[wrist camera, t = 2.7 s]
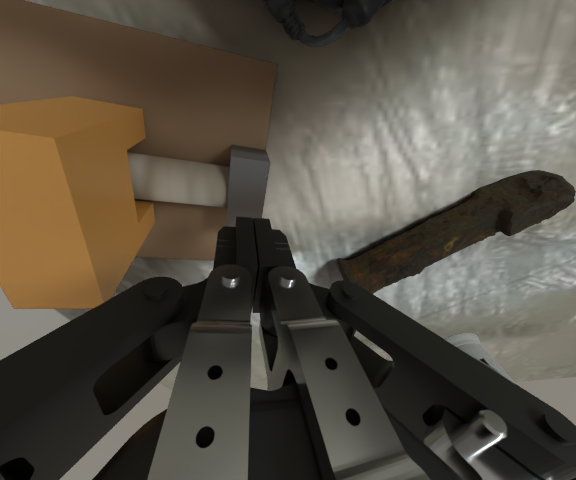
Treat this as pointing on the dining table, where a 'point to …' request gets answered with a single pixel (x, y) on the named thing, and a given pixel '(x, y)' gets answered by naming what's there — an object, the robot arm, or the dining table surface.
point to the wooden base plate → (155, 114)
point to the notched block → (68, 201)
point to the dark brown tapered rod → (462, 228)
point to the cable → (349, 3)
